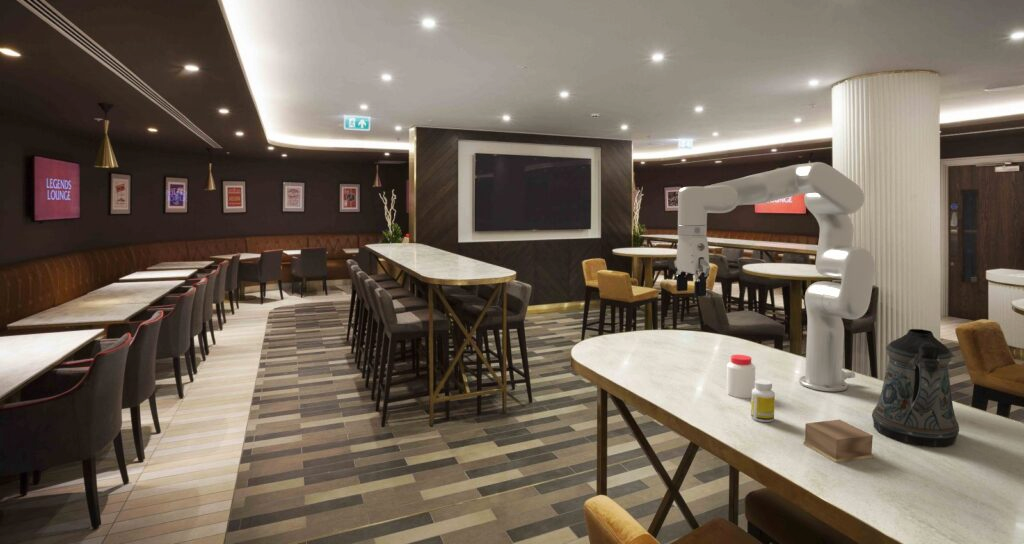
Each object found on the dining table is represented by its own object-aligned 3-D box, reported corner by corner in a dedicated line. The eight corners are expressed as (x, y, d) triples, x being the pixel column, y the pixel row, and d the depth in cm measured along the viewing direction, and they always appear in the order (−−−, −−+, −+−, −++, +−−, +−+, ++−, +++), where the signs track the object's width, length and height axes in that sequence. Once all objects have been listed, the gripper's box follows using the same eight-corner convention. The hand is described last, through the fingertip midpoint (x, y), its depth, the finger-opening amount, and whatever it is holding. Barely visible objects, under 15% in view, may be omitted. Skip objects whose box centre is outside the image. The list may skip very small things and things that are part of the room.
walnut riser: (838, 439, 124) (839, 419, 124) (873, 457, 115) (874, 435, 115) (803, 444, 123) (804, 423, 122) (835, 462, 113) (836, 440, 113)
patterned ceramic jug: (919, 418, 135) (926, 322, 133) (990, 453, 116) (999, 340, 113) (855, 420, 135) (861, 324, 132) (916, 456, 116) (924, 343, 113)
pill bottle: (737, 399, 152) (738, 361, 150) (720, 390, 159) (721, 354, 158) (760, 396, 154) (761, 359, 152) (742, 388, 161) (743, 352, 160)
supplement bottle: (778, 420, 136) (780, 383, 135) (762, 424, 134) (764, 386, 133) (761, 413, 141) (763, 377, 140) (746, 416, 139) (747, 380, 138)
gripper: (722, 232, 139) (720, 297, 141) (688, 230, 156) (687, 288, 158) (696, 233, 138) (694, 298, 140) (664, 231, 155) (663, 289, 157)
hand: (690, 293), depth 149 cm, fingers open, 9 cm apart
